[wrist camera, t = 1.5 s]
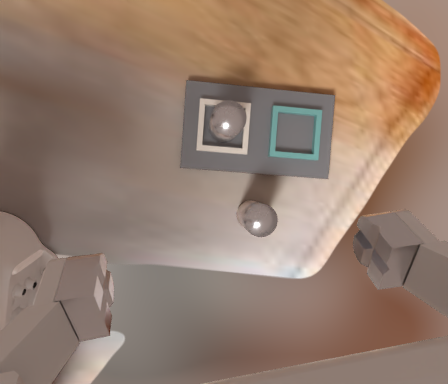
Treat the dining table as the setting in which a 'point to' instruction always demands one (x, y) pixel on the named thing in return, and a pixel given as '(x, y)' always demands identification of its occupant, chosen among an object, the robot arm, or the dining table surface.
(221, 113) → the grey tall round-topped piece
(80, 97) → the dining table surface
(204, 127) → the grey flat plate
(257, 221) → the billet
